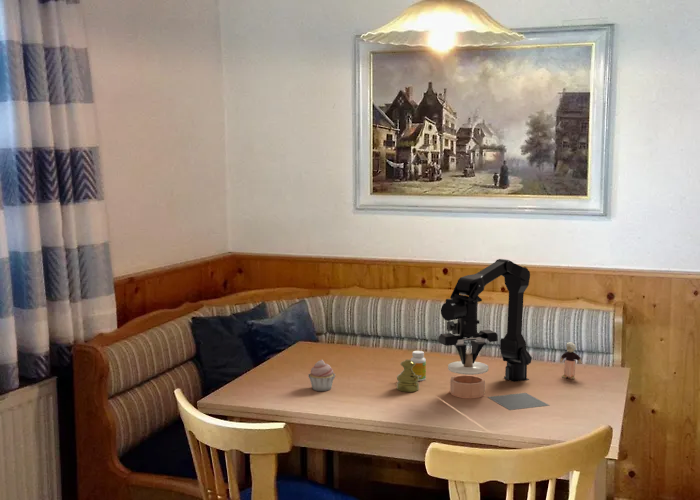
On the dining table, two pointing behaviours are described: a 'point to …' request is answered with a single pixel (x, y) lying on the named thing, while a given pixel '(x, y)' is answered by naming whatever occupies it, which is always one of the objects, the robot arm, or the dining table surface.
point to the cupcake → (321, 376)
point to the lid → (468, 366)
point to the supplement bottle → (419, 364)
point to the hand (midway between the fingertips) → (468, 363)
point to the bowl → (467, 386)
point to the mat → (518, 401)
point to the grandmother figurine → (570, 361)
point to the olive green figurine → (407, 378)
